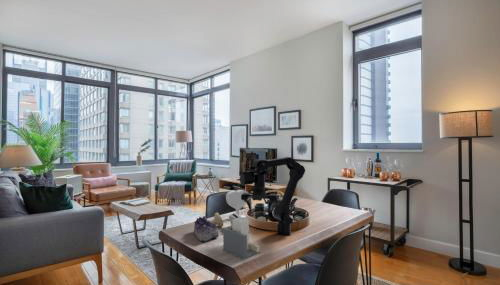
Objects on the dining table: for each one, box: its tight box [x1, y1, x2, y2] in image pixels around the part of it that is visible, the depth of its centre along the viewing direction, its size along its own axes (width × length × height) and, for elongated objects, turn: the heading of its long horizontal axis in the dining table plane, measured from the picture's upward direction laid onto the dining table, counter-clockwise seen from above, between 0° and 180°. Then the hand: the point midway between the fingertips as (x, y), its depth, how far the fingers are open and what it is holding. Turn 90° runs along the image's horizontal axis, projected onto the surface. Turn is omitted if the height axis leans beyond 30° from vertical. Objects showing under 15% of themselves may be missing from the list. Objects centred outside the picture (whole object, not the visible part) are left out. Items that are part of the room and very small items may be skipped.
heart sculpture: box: [225, 189, 249, 220], centre depth 176 cm, size 16×5×18 cm, turn 125°
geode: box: [193, 215, 219, 243], centre depth 142 cm, size 20×12×10 cm, turn 31°
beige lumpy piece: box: [209, 212, 224, 228], centre depth 155 cm, size 11×9×9 cm
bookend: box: [222, 227, 260, 260], centre depth 121 cm, size 10×14×10 cm
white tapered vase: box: [232, 217, 250, 250], centre depth 122 cm, size 6×6×14 cm
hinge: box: [228, 212, 251, 234], centre depth 152 cm, size 17×5×10 cm, turn 25°
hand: (259, 213), depth 138 cm, fingers open, 9 cm apart
